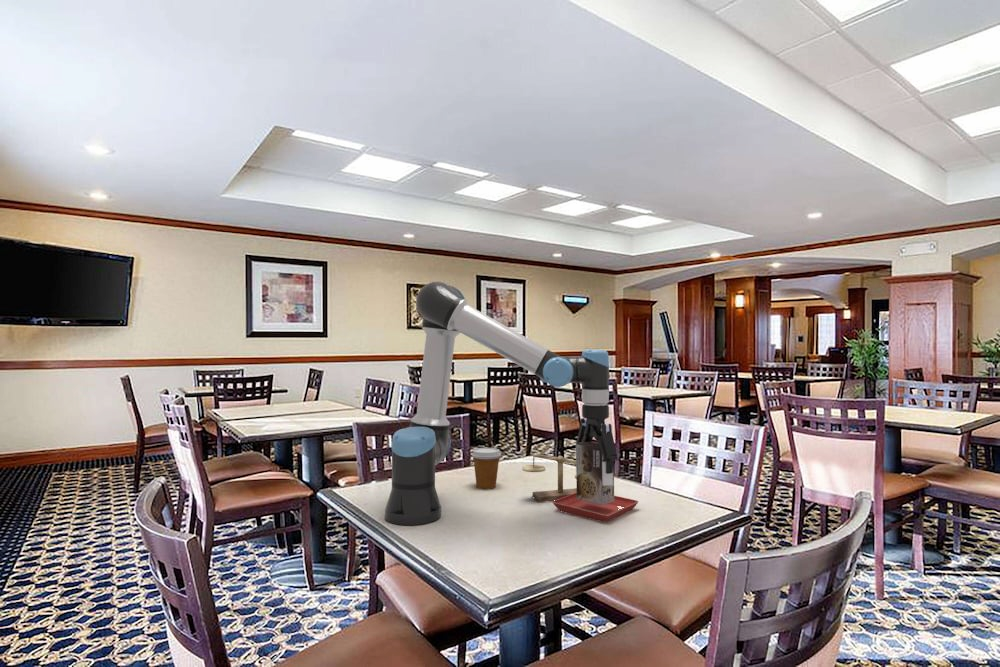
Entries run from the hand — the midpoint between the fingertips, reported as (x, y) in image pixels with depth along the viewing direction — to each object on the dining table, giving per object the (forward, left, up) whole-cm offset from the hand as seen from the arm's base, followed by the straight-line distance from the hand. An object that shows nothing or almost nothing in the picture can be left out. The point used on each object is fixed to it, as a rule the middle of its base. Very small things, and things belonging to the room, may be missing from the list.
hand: (595, 479), depth 155 cm
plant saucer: (0, 0, -10) cm, 10 cm away
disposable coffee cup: (-22, +34, -9) cm, 41 cm away
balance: (-4, +15, -9) cm, 18 cm away
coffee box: (0, 0, -6) cm, 6 cm away
